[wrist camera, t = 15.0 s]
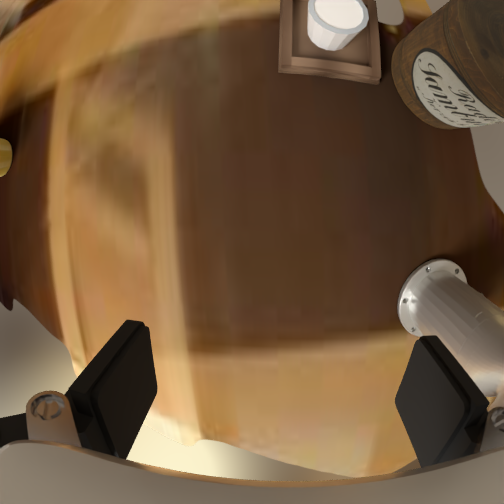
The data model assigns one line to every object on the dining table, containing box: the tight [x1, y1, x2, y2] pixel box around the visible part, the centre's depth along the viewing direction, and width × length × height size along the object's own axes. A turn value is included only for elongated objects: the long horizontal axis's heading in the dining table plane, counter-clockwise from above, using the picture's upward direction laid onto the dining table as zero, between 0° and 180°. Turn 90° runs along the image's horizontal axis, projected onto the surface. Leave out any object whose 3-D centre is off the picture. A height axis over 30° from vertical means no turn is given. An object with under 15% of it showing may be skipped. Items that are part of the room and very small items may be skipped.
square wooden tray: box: [278, 0, 381, 85], centre depth 30 cm, size 13×13×2 cm
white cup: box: [307, 0, 369, 51], centre depth 27 cm, size 7×7×7 cm
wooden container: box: [391, 0, 504, 129], centre depth 21 cm, size 15×15×22 cm
